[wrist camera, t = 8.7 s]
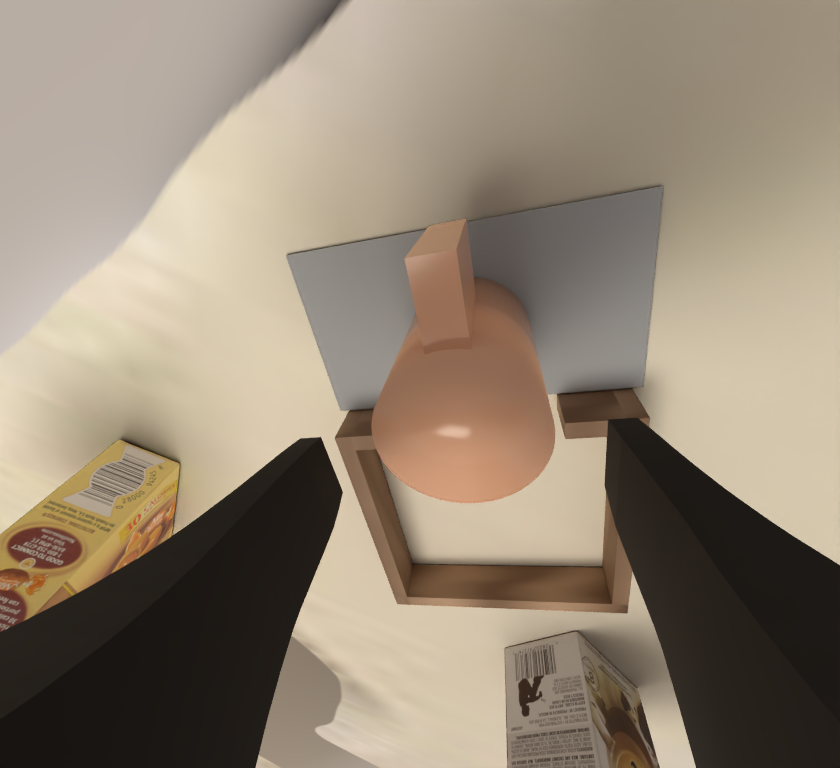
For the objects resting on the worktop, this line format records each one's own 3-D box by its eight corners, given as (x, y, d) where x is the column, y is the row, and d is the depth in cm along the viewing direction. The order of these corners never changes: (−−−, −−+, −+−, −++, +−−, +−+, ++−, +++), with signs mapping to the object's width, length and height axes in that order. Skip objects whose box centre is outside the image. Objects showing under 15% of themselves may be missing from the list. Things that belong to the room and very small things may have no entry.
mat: (662, 185, 13) (663, 186, 13) (642, 385, 17) (643, 386, 17) (287, 254, 16) (285, 255, 16) (341, 409, 20) (340, 410, 20)
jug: (533, 380, 17) (557, 500, 11) (424, 390, 18) (393, 504, 12) (522, 199, 14) (548, 238, 8) (387, 225, 15) (320, 277, 9)
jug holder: (632, 388, 17) (649, 417, 15) (616, 576, 23) (627, 613, 21) (349, 410, 20) (334, 437, 18) (403, 571, 26) (397, 604, 24)
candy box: (118, 434, 24) (-339, 787, 11) (185, 462, 24) (-176, 835, 11) (120, 519, 28) (-194, 835, 15) (177, 540, 29) (-83, 868, 16)
